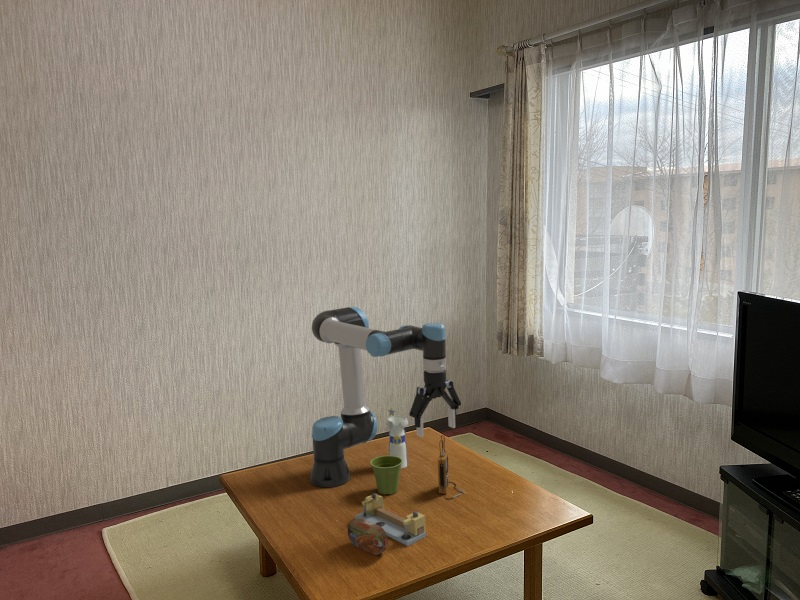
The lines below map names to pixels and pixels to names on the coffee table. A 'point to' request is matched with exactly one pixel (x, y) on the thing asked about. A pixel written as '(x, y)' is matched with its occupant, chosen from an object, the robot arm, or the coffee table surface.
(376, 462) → the plant pot
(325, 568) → the coffee table surface
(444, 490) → the multimeter
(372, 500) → the slider
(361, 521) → the tin
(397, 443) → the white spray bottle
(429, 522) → the coffee table surface
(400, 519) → the linear rail with blocks
